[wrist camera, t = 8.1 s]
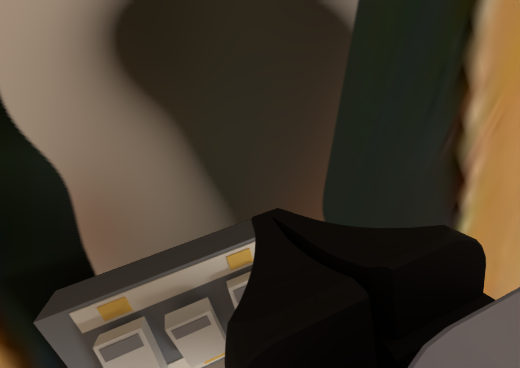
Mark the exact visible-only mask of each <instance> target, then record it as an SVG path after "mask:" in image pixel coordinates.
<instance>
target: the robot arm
mask: <svg viewBox="0 0 520 368" xmlns="http://www.w3.org/2000/svg"><path fill="white" fill-rule="evenodd" d="M251 222H252V226H253V229H254V233H255V253H254V260H253V265H252V269H251V273H250V276H249V280H248V283H247V285H246V288H245V290H244V292H243V295H242V297H241V300H240V302H239V304H238V306H237V307H236V309H235V311H234V313H233V314H232V316H231V318H230V320H229V321H228V323H227V331H226V342H225V368H520V287H519V288H517V289H516V290H514V291H512V292H510V293H508V294H506V295H505V296H503V297H501V298H499V299H497V300H494V299H493V298H491V297H490V296H488V295H486V294H485V293H483V289H484V279H485V269H486V256H485V253H484V251H483V248H482V245H481V244H480V243H479V242H478V241H477V240H476V239H474V238H472V237H470V236H467V235H465V234H463V233H461V232H459V231H456V230H454V229H452V228H450V227H447V226H445V225H437V226H425V227H414V228H365V227H353V226H345V225H338V224H332V223H327V222H323V221H319V220H315V219H311V218H308V217H304V216H301V215H298V214H295V213H292V212H289V211H286V210H283V209H279V208H276V209H274V210H271V211H268V212H265V213H263V214H260V215H257V216H254V217H253V218H252V219H251Z"/></svg>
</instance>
